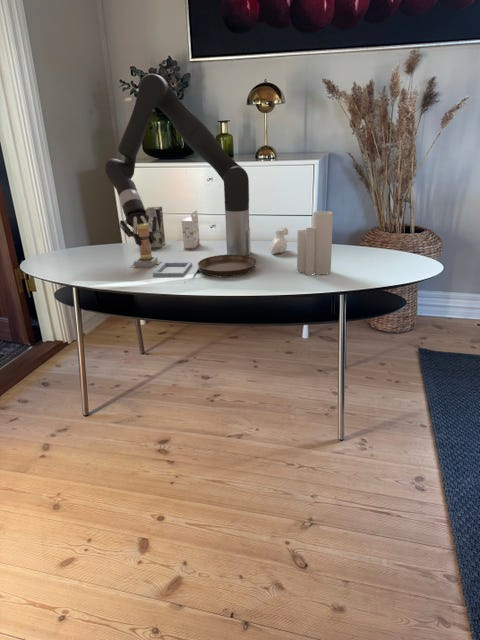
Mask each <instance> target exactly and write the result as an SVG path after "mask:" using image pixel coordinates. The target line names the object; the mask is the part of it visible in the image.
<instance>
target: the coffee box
mask: <svg viewBox="0 0 480 640" xmlns="http://www.w3.org/2000/svg"><path fill="white" fill-rule="evenodd" d="M145 211H146V214H147V215H148V216H149V217H151V218H153V217H154V216H155V217H157V228H156V233H155V234H153V235H154V238H155V240H154V242H153V244H151V243H150V245H151V248H163V246H164V245H165V244H166V236H165V226H164V225H165V223H164V214H163V213H164V212H163V206H152V207H149V206H148V207H147V208H145ZM148 224H149V226H150V228H151V229H152V224H151V223H150V221H148Z"/></svg>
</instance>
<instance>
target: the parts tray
mask: <svg viewBox="0 0 480 640" xmlns="http://www.w3.org/2000/svg"><path fill="white" fill-rule="evenodd" d="M192 266H193V262H192V261H168V262H167V261H163V262H162V263H161V264H160V265H159V266H158V267H157V268H156V270H154V271H153V272H152V277H159V278H160V277H161V278H162V277H163V278H164V277H169V278H170V277H175V278H177V277H179V278H180V277H184V276H185V275H186V274H187V273H188V272H189V270H190V269H191V267H192ZM166 267H184V268H183V269H182V270H181V271H179V272H177V271H174V272H168V271H165V272H164V271H163V270H164V269H165V268H166ZM162 271H163V272H162Z"/></svg>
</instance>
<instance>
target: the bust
mask: <svg viewBox="0 0 480 640" xmlns="http://www.w3.org/2000/svg"><path fill="white" fill-rule="evenodd" d="M274 233H275V235H276V236H275V237H274V238H273V239H272V241H271V243H270V246H269V251H270V253H271V254H272V255H275V254H283V253H285V251H286V249H287V248H288V244H287V243H288V241H287V239H286V238H285V236H288V235H289V229H288V228H287V227H286V226H284V227H283V226H280V227H278V228H277V229H276V231H275V232H274Z"/></svg>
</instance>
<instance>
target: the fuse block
mask: <svg viewBox="0 0 480 640" xmlns="http://www.w3.org/2000/svg"><path fill="white" fill-rule="evenodd" d="M158 260H159V259H158V256H152V258H150V259H141V258H140V256H139V257H138V258H136V259H135V260H134V261H133V264H132V265H131V266H130V267H129V268H131V269H135V268H136V269H137V268H141V269H142V268H151V269H152V268H156V269H158V268H159V267H160V266H161V265H162V264H163V261H158Z"/></svg>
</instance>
